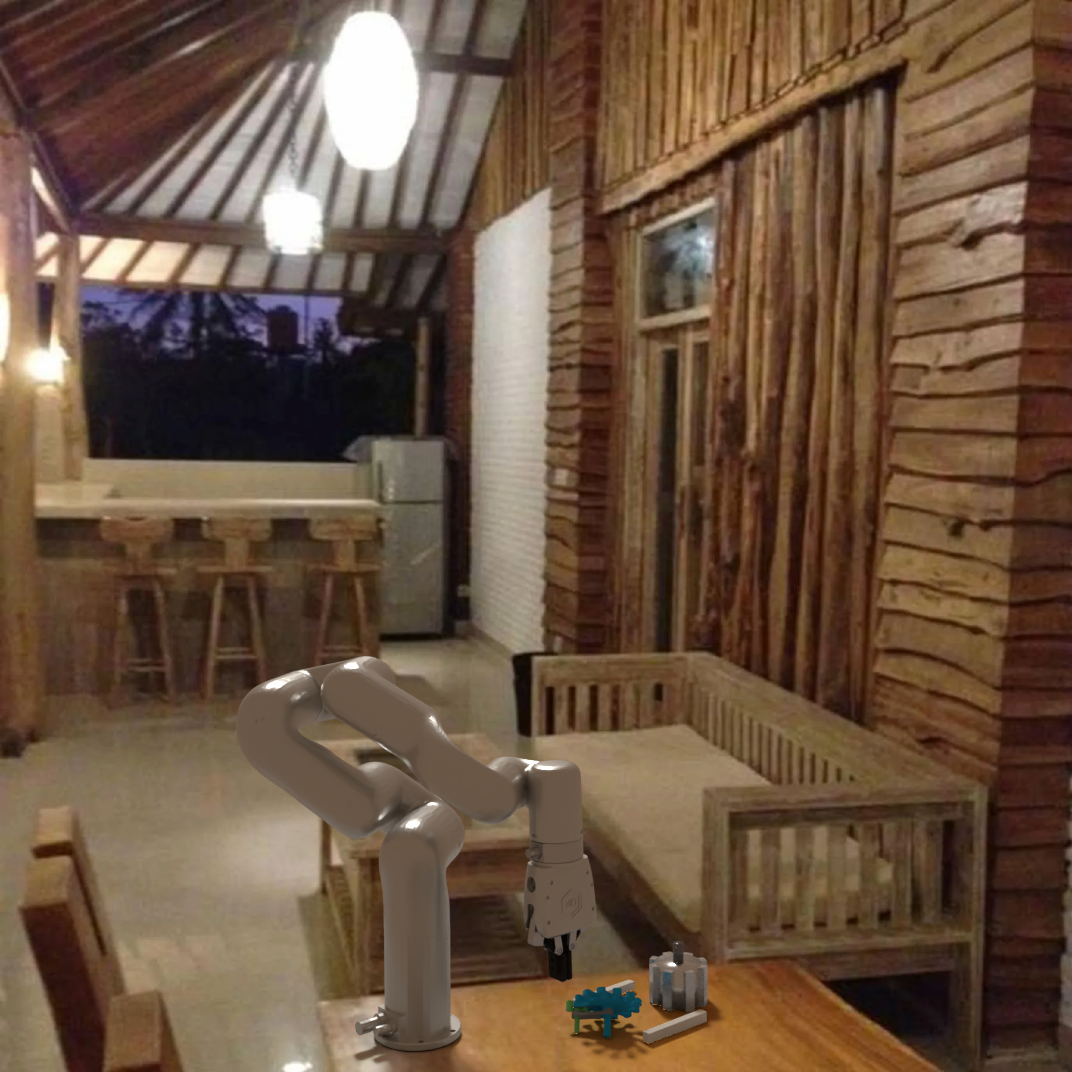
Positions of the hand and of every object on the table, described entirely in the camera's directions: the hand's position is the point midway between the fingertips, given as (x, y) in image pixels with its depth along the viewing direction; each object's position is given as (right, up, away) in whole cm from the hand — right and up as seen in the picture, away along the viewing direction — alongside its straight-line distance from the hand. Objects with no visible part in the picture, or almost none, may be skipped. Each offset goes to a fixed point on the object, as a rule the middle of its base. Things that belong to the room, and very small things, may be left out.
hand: (560, 977), depth 187 cm
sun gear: (+18, -9, +17) cm, 26 cm away
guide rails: (+12, -9, +11) cm, 19 cm away
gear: (+6, -10, +6) cm, 13 cm away
